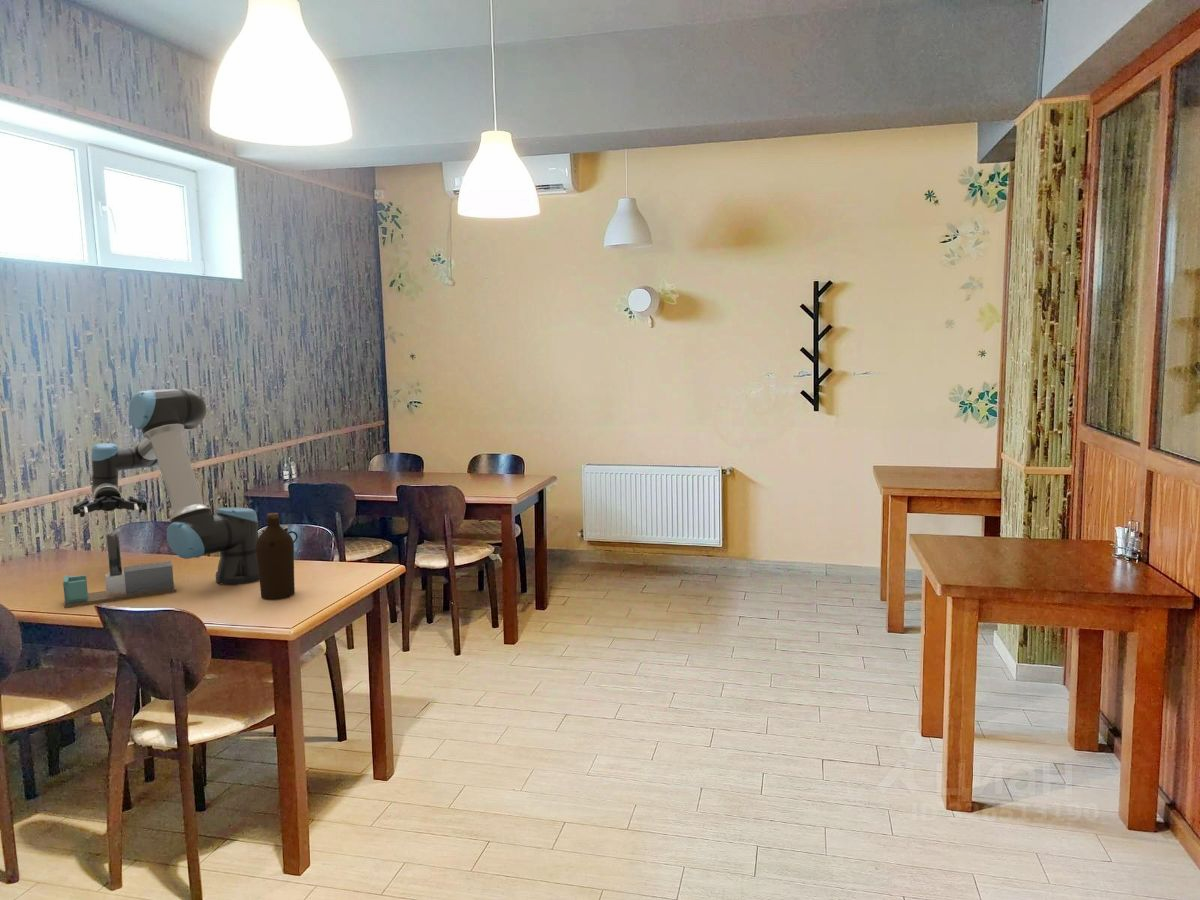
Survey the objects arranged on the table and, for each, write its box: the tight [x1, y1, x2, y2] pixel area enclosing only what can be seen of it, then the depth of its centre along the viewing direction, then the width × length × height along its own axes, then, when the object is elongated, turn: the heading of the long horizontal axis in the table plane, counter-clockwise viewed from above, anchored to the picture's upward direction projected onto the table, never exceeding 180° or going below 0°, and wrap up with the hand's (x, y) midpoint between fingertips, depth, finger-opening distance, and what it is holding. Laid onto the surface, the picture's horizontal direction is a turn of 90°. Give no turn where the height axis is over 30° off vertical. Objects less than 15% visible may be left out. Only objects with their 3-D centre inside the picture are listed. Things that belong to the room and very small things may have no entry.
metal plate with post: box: [104, 532, 126, 593], centre depth 254 cm, size 16×5×17 cm, turn 120°
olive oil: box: [256, 512, 296, 601], centre depth 249 cm, size 11×11×25 cm
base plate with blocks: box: [63, 560, 177, 609], centre depth 253 cm, size 29×10×8 cm, turn 121°
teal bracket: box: [62, 574, 89, 604], centre depth 247 cm, size 6×7×6 cm
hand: (112, 515), depth 258 cm, fingers open, 13 cm apart
